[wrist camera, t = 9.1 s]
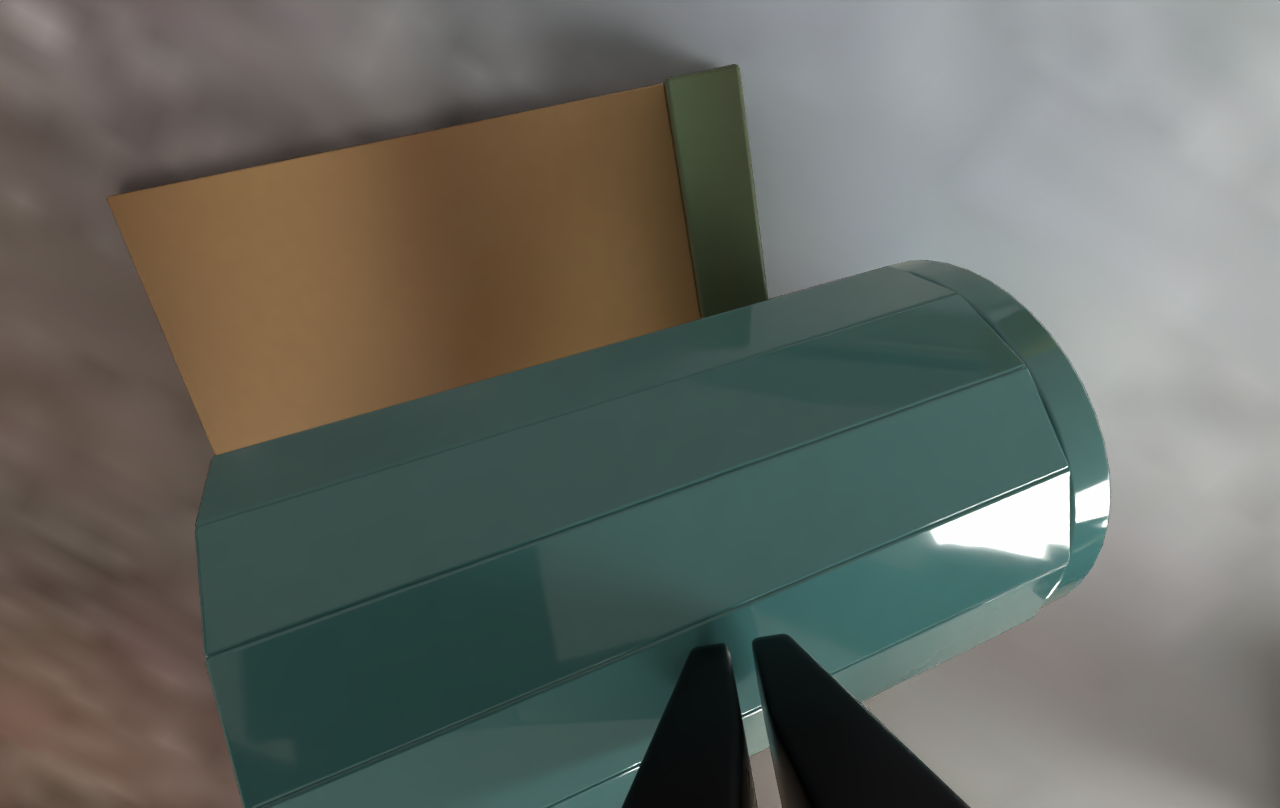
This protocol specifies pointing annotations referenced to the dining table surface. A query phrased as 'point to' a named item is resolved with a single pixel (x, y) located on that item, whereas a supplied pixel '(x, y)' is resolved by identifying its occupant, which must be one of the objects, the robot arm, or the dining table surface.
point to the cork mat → (448, 253)
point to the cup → (640, 541)
